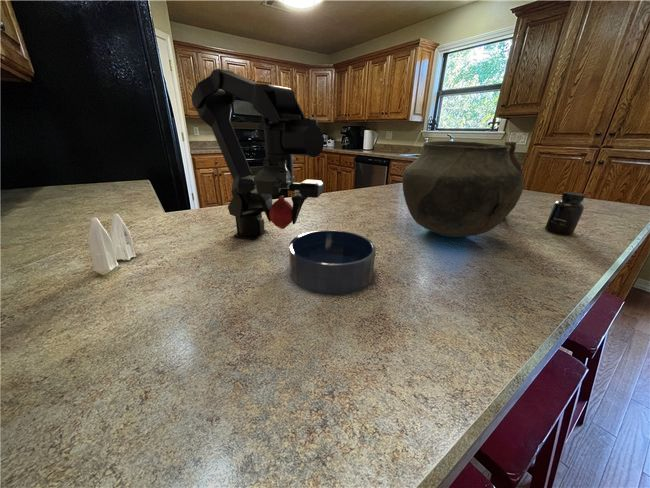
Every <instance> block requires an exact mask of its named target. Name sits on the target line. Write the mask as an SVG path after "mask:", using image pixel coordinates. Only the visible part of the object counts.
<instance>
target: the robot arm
mask: <svg viewBox="0 0 650 488" xmlns="http://www.w3.org/2000/svg"><path fill="white" fill-rule="evenodd" d="M236 97H237V98H239V99H242V100H243V101H245V102H248V103H250V104H251V106H252V108H253V110H254V111H256V112H257V113H258V114H259V115H261V116H262V117H263V118H262V120H261V122H260V123H259V124H258V125H257V130H263V132H264V148H265V149H264V150H265V158H263V159H262V160H263V161H262V168H261V169H260V170H259V171H258V172H257V173H256V174H254V173H252V171H251V168H250V166H249V164H248V160H247V159H246V156H245V154H244V152H243V149H242V146H241V143H240V142H239V139H238V137H237V134H236V132H235V129H234V127H233V125H232V122H231V117H232V111H233V109H232V106H233V104H234V103H235V102H236V101H235V100H236V99H235V98H236ZM191 103H192V106H193V107H194V109H195V110H196V113H197V115H198V116H199V118H200V119H201V120H202V121H203V122H204V123H205V124H206V125H208V126H209V127H210V128H211V130H212V133H213V136H214V138H215V140H216V143H217V144H218V147H219V149H220V152H221V154H222V157H223V159H224V162H225V164H226V166H227V168H228V169H227V170H228V171H229V173H230V176H231V178H232V184H231V185H232V186H231V195H232V198H231V200H230V202H229V203H228V205H227V210H228V213H229V215H230V216H232V217H235V225H236V233H235V234H233V237H234V238H240V239H249V240H258V239H259V238H260V237H261V236H262V235H264V234H265V233H266V232H267V230H266V229H265V219H264V217H263V213H264V214H265V216H266V219H267V221H268V222H271V223H272V221H271V220H270V216H269V212H270V208H271V206H272V205H273V196H277V195H279V194H280V193H281V191H287V192H288V191H289V192H294V194H295V195H293V196H292V197H291V201H292V202H291V203H292V207H293V211H292V222H291V223H292V224H293V225H295V224H296V223H297V220H298V218H299V215H300V212H301V209H302V207H303V204H304V203H305V201H306V200H308V198H310V199H311V198H312V199H316V198H319V197H320V196H321V195H323V193H324V189H325V188H324V187H325V186H324V182H323V181H322V180H321V179H319V180H318V179H305V180H303V181H301V182H295V181H296V176H295V175H294V163H295V157H293V156H299V157H309V158H316V157H318V156H319V155H321V153H322V152H323V150H324V146H325V137H324V134H323V131H322V129H321V128H320V126H319V125H318V119H317V118H314V117H313V118H312V117H309V118H308V117H306V116H305V114H304V111H303V110H302V108H301V106H300V105H299V102H298V100H297V97H296V92H295V91H294V90H293V89H292V88H290V87H287V86H286V87H285V86H279V85H273V84H267V83H259V82H257V81H255V80H252V79H249V78H247V77H244V76H242V75H239V74H236V73H235V72H234V71H231V70H227V69H221V68H216V69H213V70H212V71H211V73H210V74H209V76H207V77H206V78H203V79H201V80H200V81H199V82H198V83H197V84H196V85H195V87H194V88H193V91H192V92H191Z"/></svg>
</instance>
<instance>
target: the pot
mask: <svg viewBox="0 0 650 488" xmlns="http://www.w3.org/2000/svg"><path fill="white" fill-rule="evenodd" d="M510 149H511V146H506V145H505V144H496V143H483V142H477V141H476V142H475V141H459V140H458V141H456V140H436V141H435V140H433V141H425V142H424V143H423V148H422V151H421V152H420V155H419V156H418V157H417V158H416V159H415V160H414V161H413V162H412V163H410V164H409V165H408V166H406V167H405V169H404V170H403V172H402V177H401V179H402V184H401V185H402V193H403V197H404V201H405V204H406V207H407V209H408V212H409V214H410V216H411V218H412V219H413V220H414V221H415V223H416V224H417V225H419V226H420V227H422V228H424V229H426V230H428V231H430V232H432V233H434V234H437V235H439V236H443V237H448V238H449V237H450V238H467V237H475V236H478V235H482V234H485V233H487V232H489V231H492V230H493V229H495V228H496V227H498V226H499V225H500V224H501V223H502V222H503V221H505V220H506V219H507V217H508V216H509V214H510V213H511V212H512V211H513V210H514V208H515V207H516V206H517V204H518V202H519V200H520V198H521V196H522V194H523V190H524V185H525V184H524V174H523V173H521V172H520V171H519V170H518V169H517V168H516V167H515V166H514V165H513V163H512V161H511V160H510V154H509V152H510ZM505 218H506V219H505ZM504 219H505V220H504Z"/></svg>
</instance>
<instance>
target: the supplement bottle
mask: <svg viewBox="0 0 650 488" xmlns="http://www.w3.org/2000/svg"><path fill="white" fill-rule="evenodd" d="M585 197H586V194H584V193H580V192H574V191H564V192H562V195H561V197H560V200H556V201H555V202H554V204H553V206H552V209H551V210H550V211H551V212H550V214H549V216H548V219H547V221H546V224H545V227H544V230H545V231H547V232H549V233H551V234H554V235H558V236H565V237H566V236H572V235H573V234H574V233H575V230H576V229H577V226H578V223H579V221H580V220H581V218H582V215H583V212H584V210H585V206H584V204H583V203H582V202H584V199H585Z"/></svg>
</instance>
